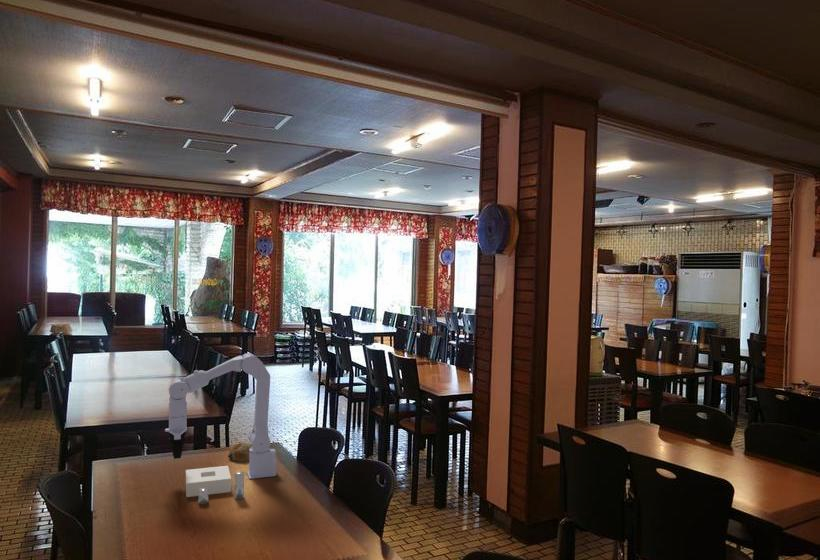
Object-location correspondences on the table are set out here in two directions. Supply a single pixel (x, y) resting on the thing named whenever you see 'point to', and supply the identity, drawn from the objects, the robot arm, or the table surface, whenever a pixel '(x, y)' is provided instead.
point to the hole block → (208, 480)
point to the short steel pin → (203, 495)
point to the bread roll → (240, 452)
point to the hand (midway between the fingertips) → (177, 454)
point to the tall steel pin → (239, 485)
